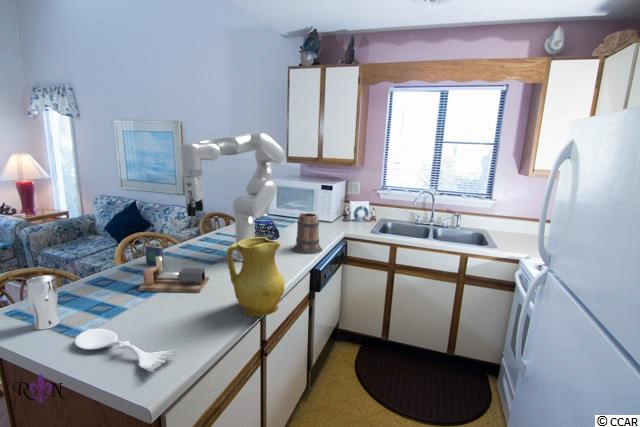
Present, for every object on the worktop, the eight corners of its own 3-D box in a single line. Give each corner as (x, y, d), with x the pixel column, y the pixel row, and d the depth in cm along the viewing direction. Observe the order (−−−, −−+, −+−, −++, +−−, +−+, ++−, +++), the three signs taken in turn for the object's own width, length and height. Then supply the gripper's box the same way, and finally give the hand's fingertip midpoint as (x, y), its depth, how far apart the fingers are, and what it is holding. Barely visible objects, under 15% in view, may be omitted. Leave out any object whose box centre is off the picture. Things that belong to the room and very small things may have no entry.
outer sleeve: (205, 279, 134) (204, 268, 133) (201, 284, 129) (200, 273, 128) (184, 279, 134) (183, 268, 133) (179, 284, 129) (178, 272, 128)
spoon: (152, 381, 79) (151, 368, 78) (67, 347, 91) (65, 336, 90) (181, 359, 87) (180, 348, 87) (99, 331, 99) (98, 321, 98)
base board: (209, 279, 138) (208, 276, 138) (200, 292, 126) (199, 288, 126) (153, 279, 137) (153, 275, 137) (139, 291, 125) (138, 287, 125)
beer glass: (43, 318, 104) (37, 274, 101) (66, 318, 105) (61, 274, 102) (26, 331, 97) (18, 284, 94) (51, 330, 98) (44, 283, 95)
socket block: (158, 279, 133) (158, 267, 132) (153, 284, 129) (152, 272, 128) (150, 279, 133) (149, 267, 132) (144, 284, 128) (143, 272, 127)
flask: (165, 264, 153) (163, 242, 151) (160, 266, 151) (159, 244, 149) (149, 262, 156) (147, 240, 154) (144, 264, 153) (142, 242, 151)
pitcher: (262, 325, 104) (260, 249, 100) (222, 311, 114) (219, 241, 110) (294, 305, 118) (294, 238, 115) (256, 294, 128) (254, 232, 125)
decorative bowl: (285, 236, 209) (286, 214, 206) (264, 243, 193) (264, 219, 190) (262, 231, 220) (262, 210, 217) (240, 237, 203) (240, 214, 200)
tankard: (316, 256, 173) (317, 219, 169) (287, 251, 178) (288, 216, 174) (329, 244, 195) (330, 211, 191) (303, 240, 200) (304, 208, 196)
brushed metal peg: (188, 278, 133) (187, 256, 131) (185, 281, 130) (184, 258, 128) (151, 277, 132) (149, 255, 130) (147, 280, 129) (146, 257, 127)
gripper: (194, 176, 128) (198, 218, 132) (207, 171, 145) (210, 209, 148) (175, 175, 127) (179, 218, 131) (190, 171, 144) (193, 209, 148)
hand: (195, 213), depth 140 cm, fingers open, 9 cm apart
